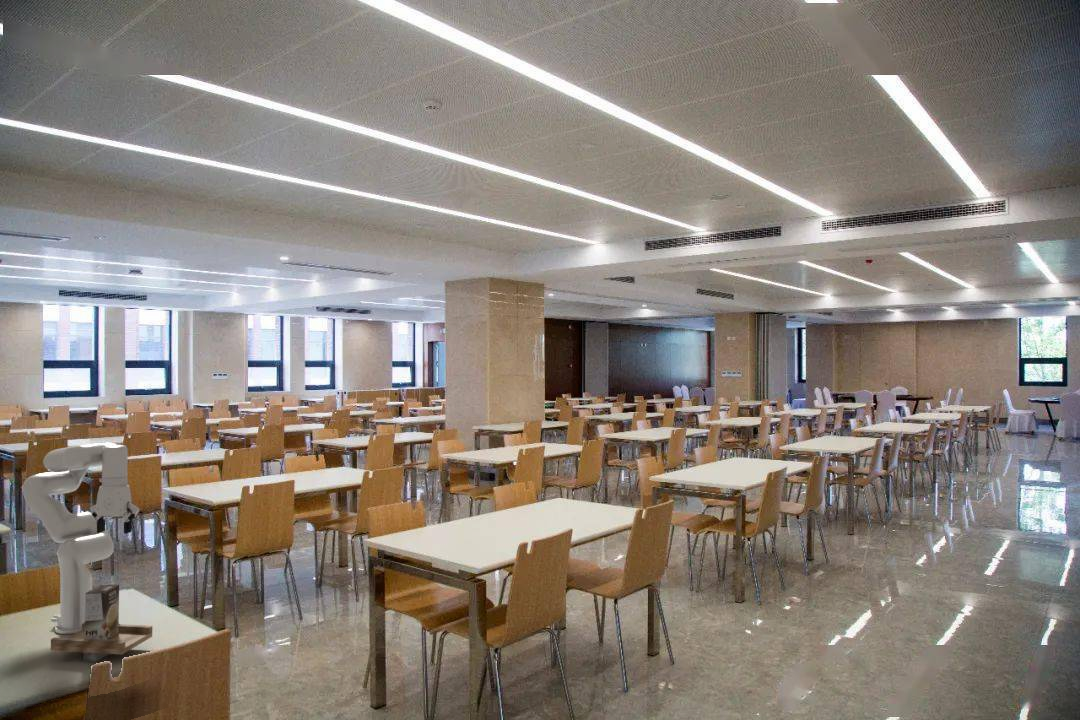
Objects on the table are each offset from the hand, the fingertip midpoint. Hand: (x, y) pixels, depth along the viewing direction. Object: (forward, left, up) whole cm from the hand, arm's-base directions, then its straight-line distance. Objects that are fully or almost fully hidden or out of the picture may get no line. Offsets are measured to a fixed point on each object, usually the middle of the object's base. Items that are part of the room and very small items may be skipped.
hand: (114, 532), depth 252 cm
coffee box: (+5, -12, -32) cm, 34 cm away
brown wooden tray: (+5, -12, -36) cm, 39 cm away
